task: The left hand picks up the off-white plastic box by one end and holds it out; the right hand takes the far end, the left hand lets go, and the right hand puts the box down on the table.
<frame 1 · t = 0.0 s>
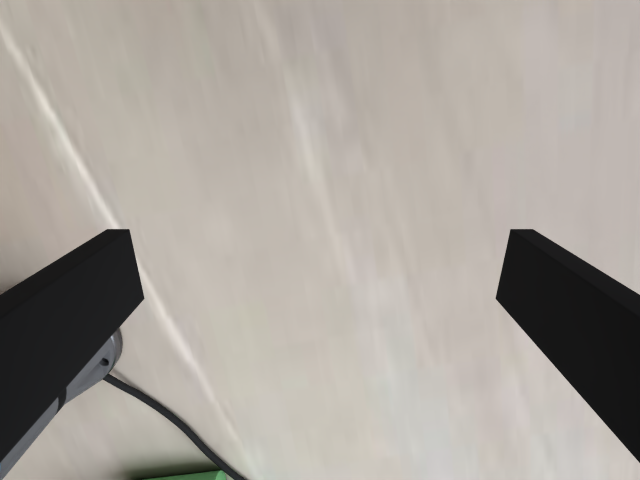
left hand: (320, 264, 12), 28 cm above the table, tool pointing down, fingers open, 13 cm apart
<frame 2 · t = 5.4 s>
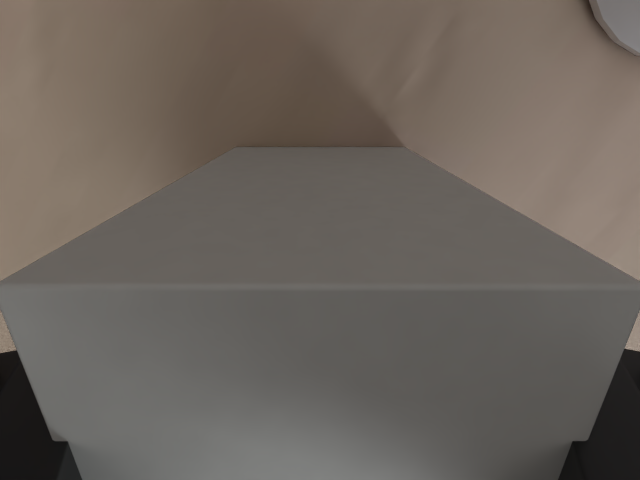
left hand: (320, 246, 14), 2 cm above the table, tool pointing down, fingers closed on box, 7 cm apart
box: (320, 400, 20), on the table, touching left hand
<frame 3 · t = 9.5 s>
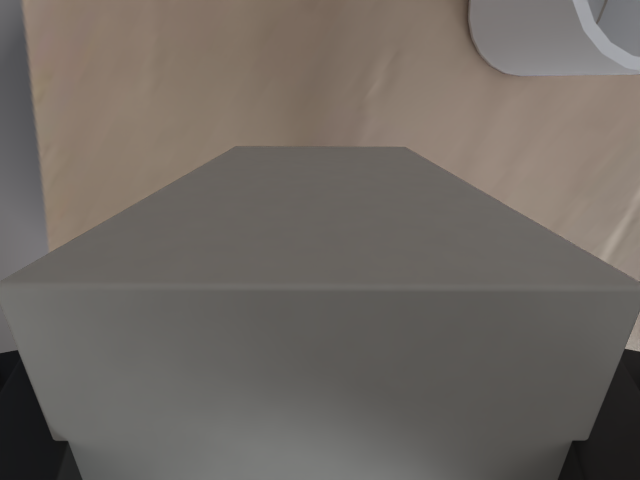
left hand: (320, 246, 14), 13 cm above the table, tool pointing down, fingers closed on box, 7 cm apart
box: (319, 399, 20), point 10 cm above the table, touching left hand, right hand
when the left hand's fingers open (13 cm above the table, at t = 10.5 s): box stays where it is, held by the right hand.
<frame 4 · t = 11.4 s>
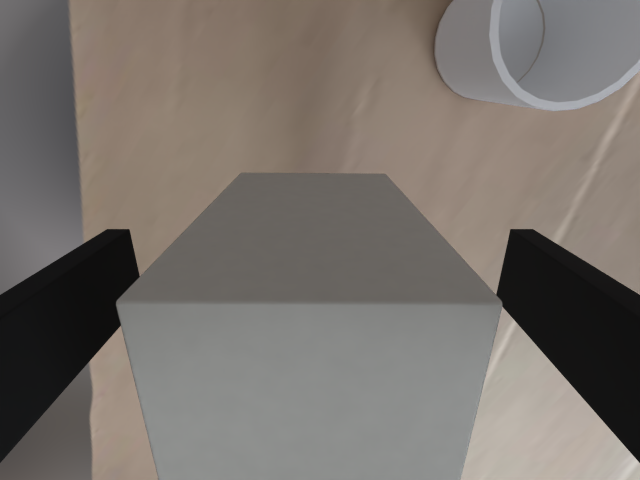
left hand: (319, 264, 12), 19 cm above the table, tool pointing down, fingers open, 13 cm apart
mug: (498, 35, 27), on the table
box: (312, 390, 23), point 13 cm above the table, touching right hand
when the right hand's fingers open (4 cm above the table, at t = 17.5 s): box drops 2 cm, on the table.
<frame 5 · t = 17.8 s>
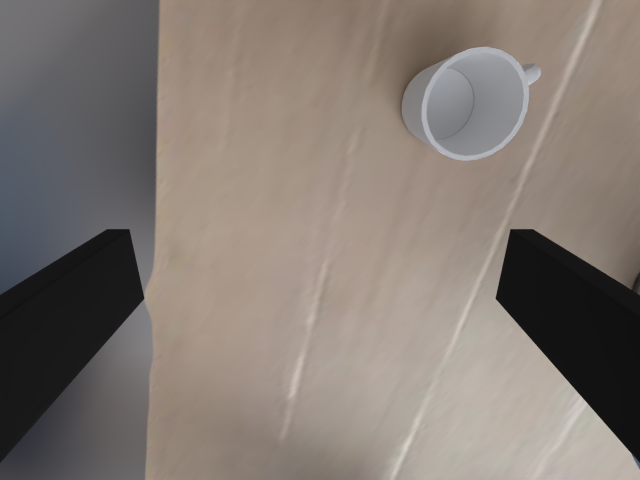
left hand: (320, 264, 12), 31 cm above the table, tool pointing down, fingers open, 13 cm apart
mug: (445, 100, 39), on the table
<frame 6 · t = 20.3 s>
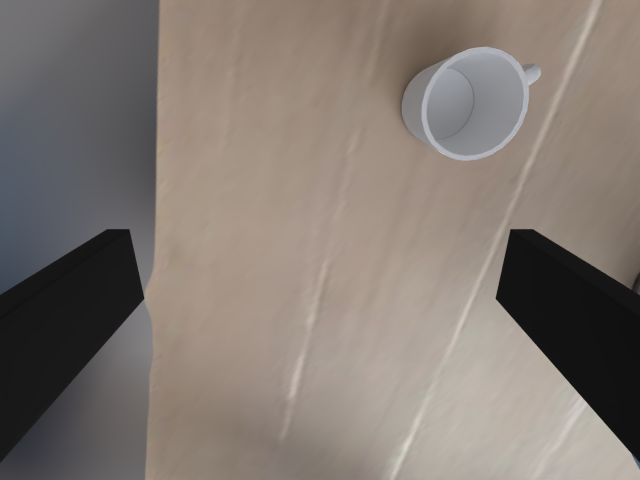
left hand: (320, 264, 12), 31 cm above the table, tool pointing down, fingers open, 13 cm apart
mug: (445, 100, 39), on the table
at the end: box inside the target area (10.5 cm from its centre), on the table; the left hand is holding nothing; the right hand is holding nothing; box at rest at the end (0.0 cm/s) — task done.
